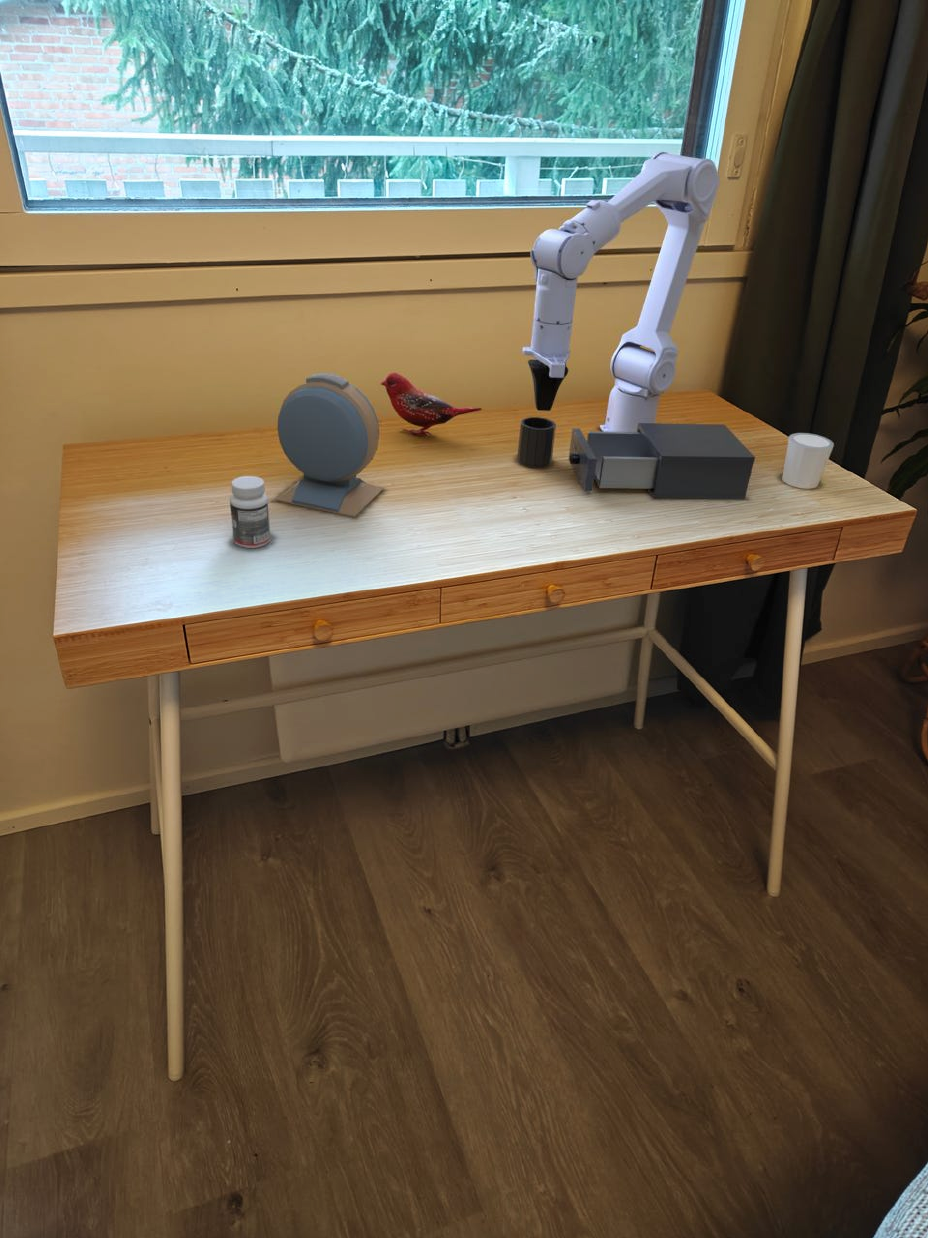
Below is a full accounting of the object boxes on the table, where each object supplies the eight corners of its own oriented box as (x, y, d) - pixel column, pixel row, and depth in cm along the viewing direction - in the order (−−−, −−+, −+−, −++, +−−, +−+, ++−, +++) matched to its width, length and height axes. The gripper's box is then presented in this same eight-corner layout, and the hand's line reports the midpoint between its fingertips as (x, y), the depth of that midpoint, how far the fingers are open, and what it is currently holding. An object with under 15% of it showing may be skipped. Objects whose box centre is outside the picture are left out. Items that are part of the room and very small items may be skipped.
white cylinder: (824, 492, 140) (837, 450, 137) (780, 486, 141) (791, 445, 138) (819, 475, 146) (831, 435, 142) (776, 470, 147) (786, 429, 143)
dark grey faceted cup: (514, 455, 146) (517, 417, 143) (546, 454, 147) (550, 416, 144) (522, 468, 142) (526, 429, 138) (554, 467, 143) (559, 428, 139)
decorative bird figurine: (382, 425, 154) (383, 368, 149) (481, 441, 151) (485, 383, 145) (377, 431, 152) (377, 373, 146) (477, 447, 148) (481, 388, 143)
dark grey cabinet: (653, 498, 135) (661, 455, 131) (631, 463, 146) (637, 422, 142) (744, 499, 137) (755, 457, 133) (715, 464, 148) (724, 424, 144)
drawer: (576, 491, 134) (581, 458, 131) (561, 458, 144) (564, 428, 141) (670, 491, 135) (677, 459, 133) (648, 459, 146) (654, 429, 143)
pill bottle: (236, 531, 119) (230, 473, 114) (272, 532, 119) (268, 474, 115) (231, 549, 115) (225, 489, 110) (268, 549, 115) (264, 490, 111)
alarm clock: (388, 491, 132) (390, 373, 122) (361, 518, 124) (360, 394, 114) (302, 473, 135) (296, 357, 126) (269, 499, 128) (261, 377, 118)
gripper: (518, 305, 136) (511, 392, 143) (533, 332, 124) (524, 425, 131) (564, 307, 137) (554, 393, 144) (583, 333, 125) (571, 426, 132)
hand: (543, 409), depth 138 cm, fingers closed
